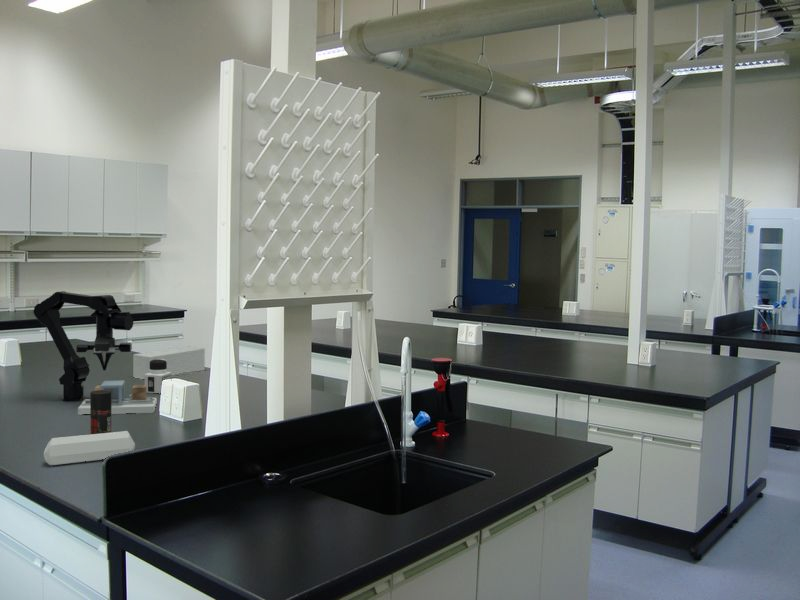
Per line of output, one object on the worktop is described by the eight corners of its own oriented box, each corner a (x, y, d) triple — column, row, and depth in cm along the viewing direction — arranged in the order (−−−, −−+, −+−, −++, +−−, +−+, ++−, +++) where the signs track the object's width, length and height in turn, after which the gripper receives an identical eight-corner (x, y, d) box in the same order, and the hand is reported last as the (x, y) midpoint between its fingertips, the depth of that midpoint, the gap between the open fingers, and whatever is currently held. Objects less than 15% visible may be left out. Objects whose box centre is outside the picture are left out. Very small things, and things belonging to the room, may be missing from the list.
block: (132, 400, 260) (132, 387, 259) (133, 397, 264) (133, 385, 264) (145, 399, 261) (145, 387, 261) (146, 397, 265) (146, 384, 265)
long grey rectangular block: (188, 368, 345) (188, 346, 344) (204, 371, 340) (204, 348, 339) (133, 378, 317) (133, 354, 316) (150, 381, 312) (150, 357, 311)
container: (161, 394, 287) (161, 362, 286) (144, 392, 289) (144, 360, 288) (171, 390, 295) (171, 359, 294) (154, 389, 296) (154, 357, 295)
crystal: (132, 436, 215) (42, 445, 203) (135, 429, 209) (43, 438, 197) (134, 460, 212) (43, 471, 200) (138, 454, 206) (44, 465, 195)
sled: (94, 402, 256) (94, 388, 256) (96, 399, 261) (96, 385, 261) (151, 401, 261) (152, 387, 261) (153, 398, 266) (153, 384, 266)
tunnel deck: (78, 415, 251) (77, 387, 250) (84, 405, 265) (84, 379, 264) (153, 413, 257) (153, 386, 257) (156, 404, 271) (156, 378, 270)
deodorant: (94, 437, 225) (94, 389, 224) (113, 437, 226) (114, 390, 224) (87, 442, 219) (87, 394, 218) (107, 442, 220) (107, 394, 218)
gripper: (73, 331, 259) (73, 374, 261) (128, 331, 264) (128, 373, 265) (78, 327, 270) (79, 369, 271) (131, 327, 275) (131, 368, 276)
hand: (104, 370), depth 271 cm, fingers closed
